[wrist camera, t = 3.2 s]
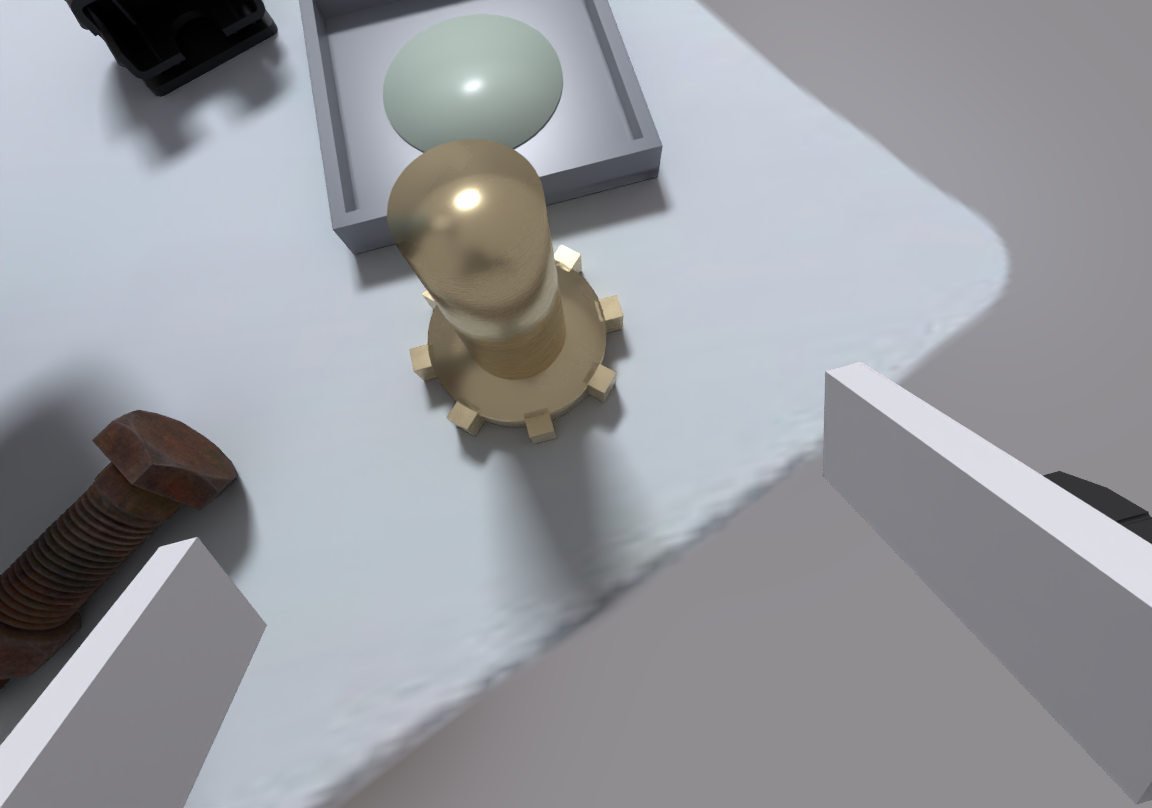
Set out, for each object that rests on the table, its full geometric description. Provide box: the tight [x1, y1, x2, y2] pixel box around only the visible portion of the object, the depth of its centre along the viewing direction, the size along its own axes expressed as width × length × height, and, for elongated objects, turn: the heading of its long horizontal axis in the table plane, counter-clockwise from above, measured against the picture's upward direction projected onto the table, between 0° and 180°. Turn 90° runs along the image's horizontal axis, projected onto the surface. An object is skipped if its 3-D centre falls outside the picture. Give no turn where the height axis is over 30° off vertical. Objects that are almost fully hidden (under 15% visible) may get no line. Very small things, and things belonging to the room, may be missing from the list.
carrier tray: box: [299, 0, 662, 254], centre depth 31 cm, size 18×18×2 cm
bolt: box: [0, 410, 237, 689], centre depth 23 cm, size 6×5×15 cm
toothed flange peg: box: [387, 139, 623, 444], centre depth 22 cm, size 11×11×12 cm
